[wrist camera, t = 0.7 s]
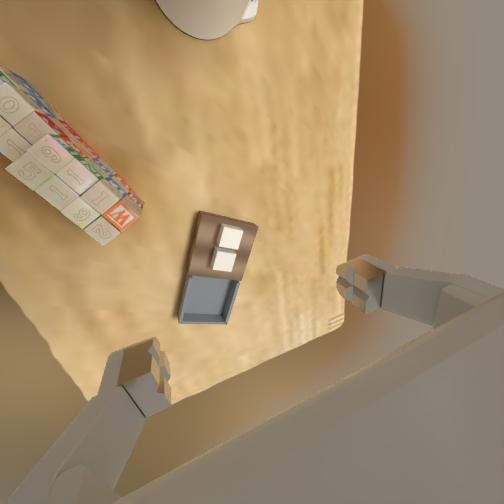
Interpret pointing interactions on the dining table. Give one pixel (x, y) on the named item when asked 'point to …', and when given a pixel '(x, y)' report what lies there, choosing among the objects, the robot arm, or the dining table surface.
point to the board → (207, 243)
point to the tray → (207, 300)
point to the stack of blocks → (61, 163)
